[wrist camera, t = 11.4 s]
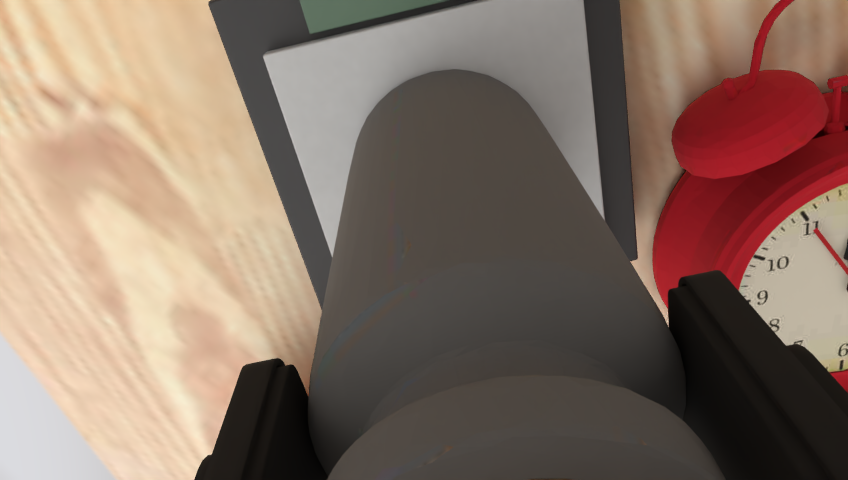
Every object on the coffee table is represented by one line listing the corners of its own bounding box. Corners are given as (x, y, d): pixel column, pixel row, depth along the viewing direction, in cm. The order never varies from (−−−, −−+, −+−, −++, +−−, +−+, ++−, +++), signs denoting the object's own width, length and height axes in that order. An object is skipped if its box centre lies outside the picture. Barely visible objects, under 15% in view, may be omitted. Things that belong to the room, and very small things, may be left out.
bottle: (449, 280, 21) (532, 950, 7) (312, 168, 19) (95, 819, 5) (587, 161, 19) (1023, 777, 6) (451, 20, 17) (634, 475, 4)
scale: (225, -8, 19) (201, 4, 16) (592, -101, 18) (619, -101, 15) (332, 292, 24) (324, 332, 22) (620, 232, 23) (643, 268, 21)
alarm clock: (693, 452, 23) (741, 101, 13) (636, 325, 28) (641, -4, 18) (986, 398, 22) (1269, -19, 12) (876, 276, 27) (1019, -97, 17)
